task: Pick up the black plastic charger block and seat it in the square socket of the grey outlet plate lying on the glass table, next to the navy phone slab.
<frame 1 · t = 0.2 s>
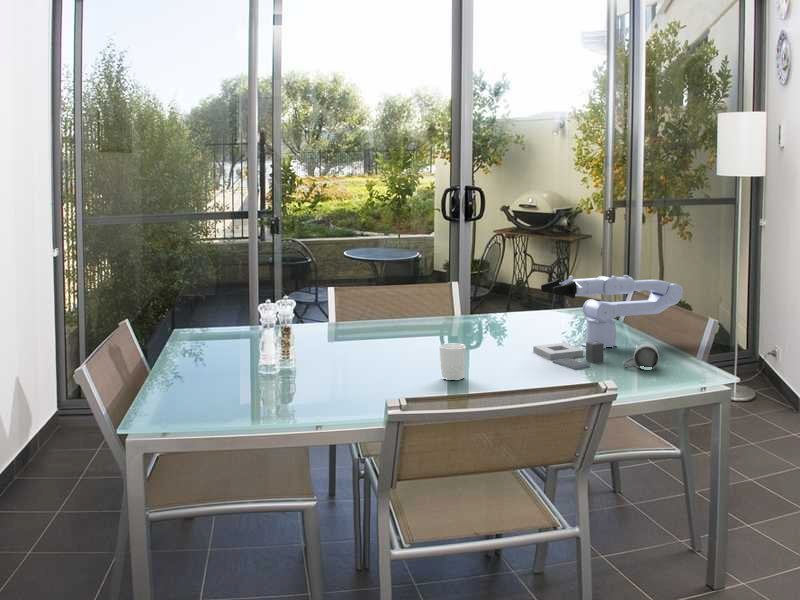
hand: (547, 289, 308), 21 cm above the table, tool horizontal, fingers open, 7 cm apart
outlet plate: (558, 354, 309), on the table
white cup: (453, 379, 283), on the table
phone: (571, 366, 295), on the table
charger: (594, 361, 299), on the table
ceramic mug: (641, 368, 290), on the table
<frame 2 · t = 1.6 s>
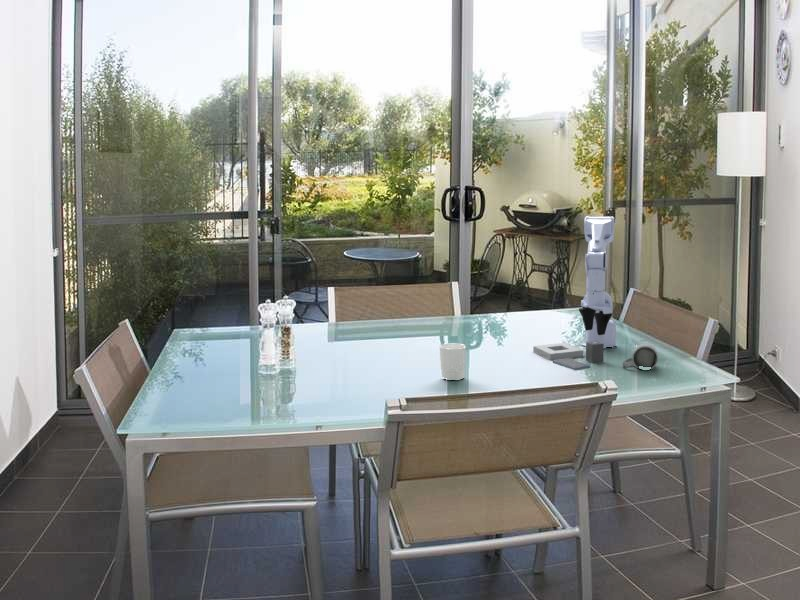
hand: (594, 332, 297), 9 cm above the table, tool pointing down, fingers open, 7 cm apart
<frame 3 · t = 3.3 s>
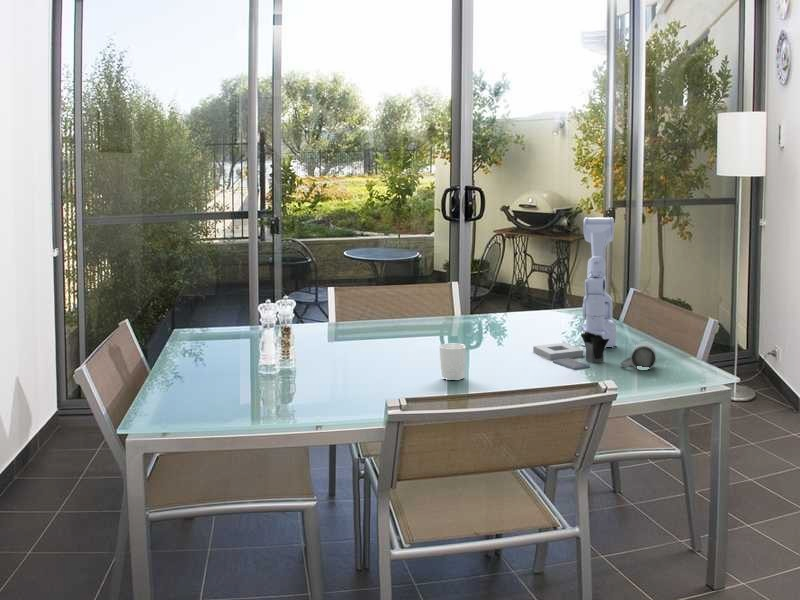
hand: (594, 356, 299), 1 cm above the table, tool pointing down, fingers closed on charger, 4 cm apart
charger: (594, 361, 299), on the table, touching gripper
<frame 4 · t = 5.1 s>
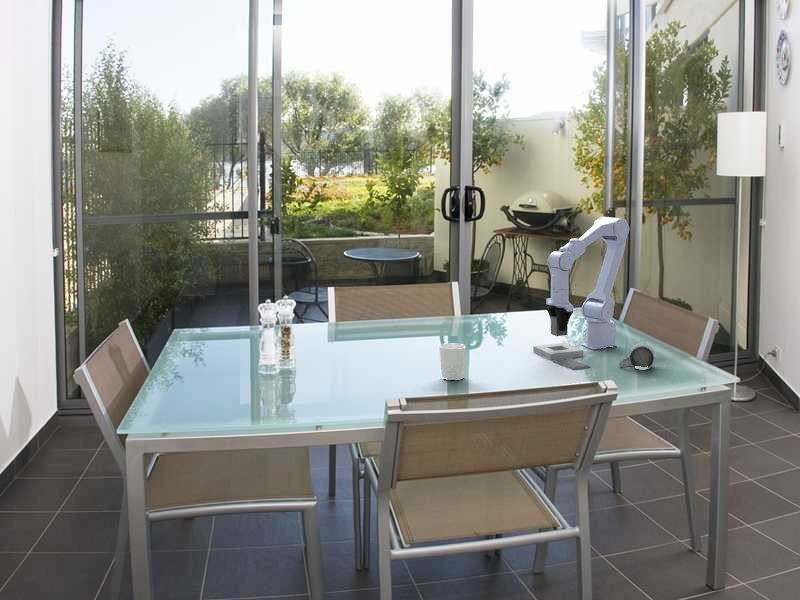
hand: (559, 329, 307), 8 cm above the table, tool pointing down, fingers closed on charger, 4 cm apart
charger: (559, 334, 308), point 7 cm above the table, touching gripper
when the fingers open (3 cm above the table, at t = 7.0 s): charger drops 1 cm, resting in outlet plate.
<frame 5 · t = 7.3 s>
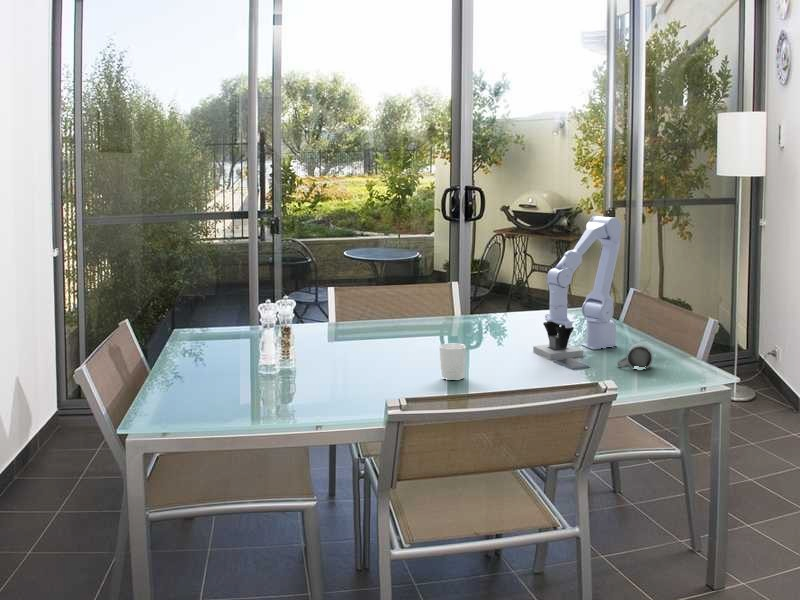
hand: (558, 345, 309), 3 cm above the table, tool pointing down, fingers open, 6 cm apart
charger: (557, 354, 309), resting in outlet plate
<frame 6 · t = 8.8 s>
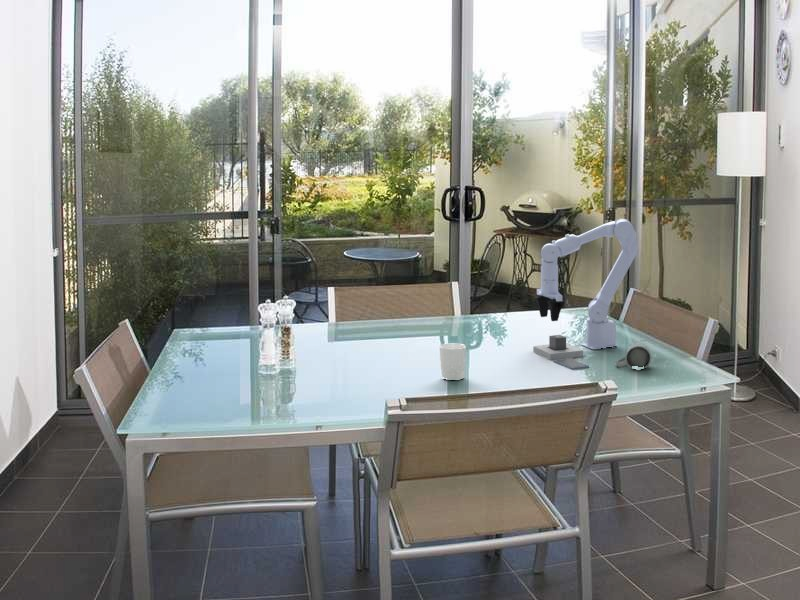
hand: (549, 318, 319), 9 cm above the table, tool pointing down, fingers open, 7 cm apart
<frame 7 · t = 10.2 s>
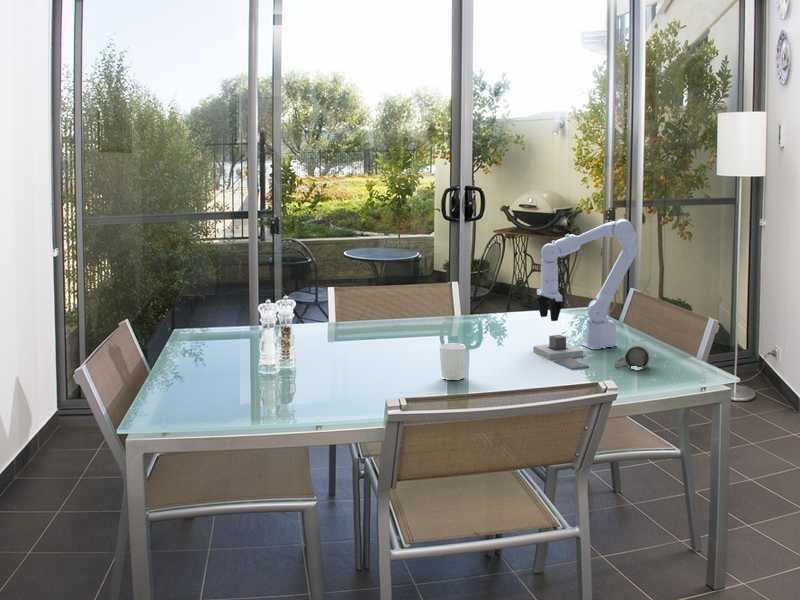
hand: (549, 318, 320), 9 cm above the table, tool pointing down, fingers open, 7 cm apart
at the end: charger 0.1 cm off-centre on the outlet plate, point 0.0 cm above the outlet plate's base; charger tilted 0°; the gripper is holding nothing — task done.
